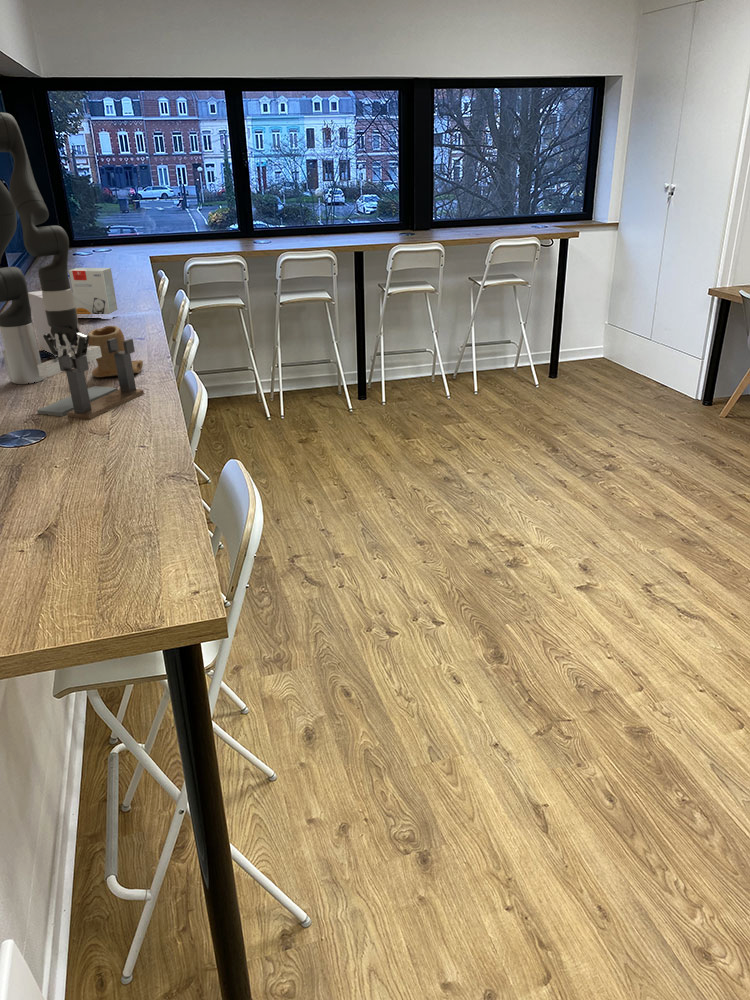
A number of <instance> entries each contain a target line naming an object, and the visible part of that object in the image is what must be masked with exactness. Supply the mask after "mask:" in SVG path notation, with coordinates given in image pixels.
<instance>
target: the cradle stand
mask: <svg viewBox="0 0 750 1000" xmlns="http://www.w3.org/2000/svg"><path fill="white" fill-rule="evenodd" d="M107 345H108V351H109V353H114V352H116V351H119V349H118V343H117V338H112V339H109V340H107ZM123 345H124V351H119V352H116V353H114V356H115V362H116V368H117V373H118V376H117V378H118V384H119V389H117V391H115V392H112V393H110V394H108V395H106V396H103V397H101V398H99V399H97V400H94V401H92V402H90V399H89V394H88V389H89V388H88V386H87V385H88V384H87V380H86V375H85V372H86V371H89V370H90V368H89V364H88V363H89V362H87V357H86V356H81V357H79V358H76V359H75V361H76V366H77V369H76V368H72V366H71V361H70V356H69V355H63V356H61V357H57V358H58V361H59V365H60V370H61V371H63V372H65V374H66V378H67V383H68V388H69V393H70V396H71V398H72V402H73V407H74V410H72V411H70V412H67V414H66V415H67V417H68V418H75V419H84V420H92V419H94V418H96V417H98V416H100V415H102V414H104V413H106V412H108V411H111V410H113V409H115V408H117V407H119V406H121V405H123V404H125V403H128V402H129V401H132V400H133V399H136V398H138V397H140V396H142V395H144V394H145V393H144V389H139V388H137V386H136V380H135V373H133V368H132V362H131V361H132V357H131V354H133V353H135V351H136V350H135V346H134V339H133V338H128V339H126V340H125V341H123ZM68 369H71V370H68ZM66 370H68V371H66ZM114 407H115V408H114ZM112 408H113V409H112ZM110 409H111V410H110Z"/></svg>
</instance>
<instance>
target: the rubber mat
mask: <svg viewBox="0 0 750 1000" xmlns="http://www.w3.org/2000/svg"><path fill="white" fill-rule="evenodd" d="M87 389H88V394H89V399H90V402H92V401H94V400H97V399H99V398H101V397H103V396H106V395H108V394H110V393H112V392H115V391H117V390H118V387H111V386H99V385H98V386H97V385H94V386H91V387H89V388H87ZM72 410H74V407H73V402H72V398H71V395H70V396H67V397H65V398H63V399H60V400H58V401H56V402H55V401H54V402H53V403H50V404H48V405H46V406H43V407H42V408H39V409H37V410H36V411H37V414H38V415H45V414H48V416H54V415H55V416H56V417H64V416H66V415H68V414H67V412H70V411H72Z"/></svg>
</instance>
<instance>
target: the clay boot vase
mask: <svg viewBox="0 0 750 1000" xmlns="http://www.w3.org/2000/svg"><path fill="white" fill-rule="evenodd" d="M87 335H88V336H89V341H88V347H89V346H100V349H101V354H102V357H100V358H98V359H95V360H96V363H97V367H95V368H94V369H93V370H92V371H91V374H92V376H94V377H95V378H109V377H116V376H117V377H118V373H117V368H116V362H115V356H114V353H116V352H119V351H124V345H123V341H125V337H124V333H123V332H122V330H121V328H120V327H118V326H115V325H106V326H104V327H103V326H102V327H101V328H95V329H93V330H90V331H89V332H88V333H87ZM112 338H117V343H118V349H119V351H116V352H114V353H109V351H108V345H107V340H109V339H112ZM131 362H132V368H133V373H134V374H138V373H140V372H141V371H142V369H143V365H144V361H143V360H131Z"/></svg>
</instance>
